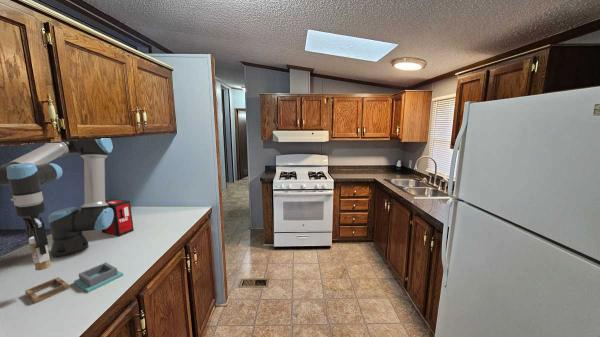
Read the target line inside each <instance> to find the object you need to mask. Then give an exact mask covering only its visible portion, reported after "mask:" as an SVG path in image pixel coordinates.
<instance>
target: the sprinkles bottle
mask: <svg viewBox="0 0 600 337" xmlns="http://www.w3.org/2000/svg"><path fill="white" fill-rule="evenodd" d="M28 243H29V245H30V249H31V254H32V260H33V263H34V267H35V269H34V270H35V271H42V270H43V271H44V270H47V269H48V268H50V267H52V264H51V259H50V258H49V260H47V261H44V262H41V263H39V259H38V255H37V250H36V248H34V247H36V246H37V245H36V242H35V239H34V236H33V237H31V238H29V241H28ZM46 246H47V251H48V256H49V257H50V254H49V253H50V252H49V249H48V245H46Z"/></svg>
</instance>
